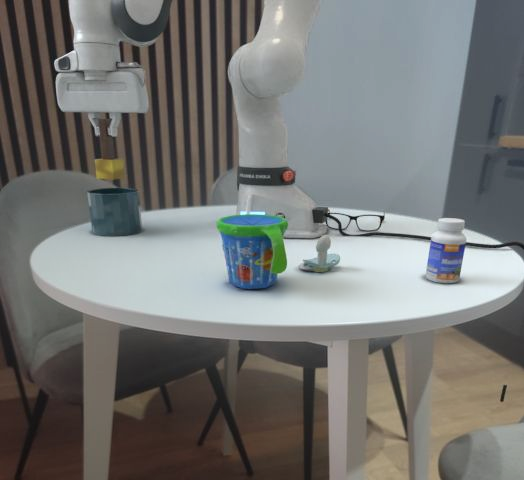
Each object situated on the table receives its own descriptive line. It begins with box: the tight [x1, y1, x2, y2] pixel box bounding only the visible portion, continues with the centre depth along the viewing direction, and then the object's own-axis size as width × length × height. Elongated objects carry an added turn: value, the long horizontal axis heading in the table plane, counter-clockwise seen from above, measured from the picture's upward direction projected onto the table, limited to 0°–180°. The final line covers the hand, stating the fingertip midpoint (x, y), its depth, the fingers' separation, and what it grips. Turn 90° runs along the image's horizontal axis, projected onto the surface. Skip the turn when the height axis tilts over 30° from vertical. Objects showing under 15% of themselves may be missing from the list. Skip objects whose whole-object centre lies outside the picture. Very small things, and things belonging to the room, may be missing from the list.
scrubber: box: [94, 118, 126, 181], centre depth 108 cm, size 4×4×12 cm
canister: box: [86, 187, 143, 237], centre depth 114 cm, size 11×11×9 cm
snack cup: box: [216, 214, 288, 290], centre depth 77 cm, size 16×10×10 cm
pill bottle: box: [425, 217, 467, 284], centre depth 81 cm, size 5×5×10 cm
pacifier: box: [298, 234, 341, 273], centre depth 86 cm, size 7×6×6 cm
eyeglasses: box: [324, 208, 386, 233], centre depth 123 cm, size 14×14×4 cm
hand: (106, 136), depth 107 cm, fingers closed on scrubber, 2 cm apart
